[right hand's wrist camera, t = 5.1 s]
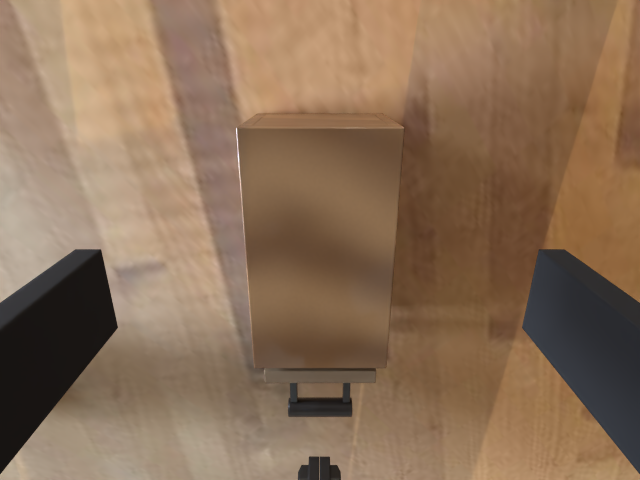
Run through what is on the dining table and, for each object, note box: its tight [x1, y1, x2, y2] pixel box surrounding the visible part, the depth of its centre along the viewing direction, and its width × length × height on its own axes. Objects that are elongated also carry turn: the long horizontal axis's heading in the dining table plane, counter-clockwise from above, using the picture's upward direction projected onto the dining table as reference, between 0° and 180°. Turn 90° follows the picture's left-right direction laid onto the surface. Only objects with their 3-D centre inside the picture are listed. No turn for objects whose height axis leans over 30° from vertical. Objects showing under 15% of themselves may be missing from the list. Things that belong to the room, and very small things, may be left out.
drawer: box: [264, 368, 376, 417], centre depth 34 cm, size 22×9×7 cm, turn 0°
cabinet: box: [236, 114, 404, 368], centre depth 32 cm, size 18×10×9 cm, turn 0°
